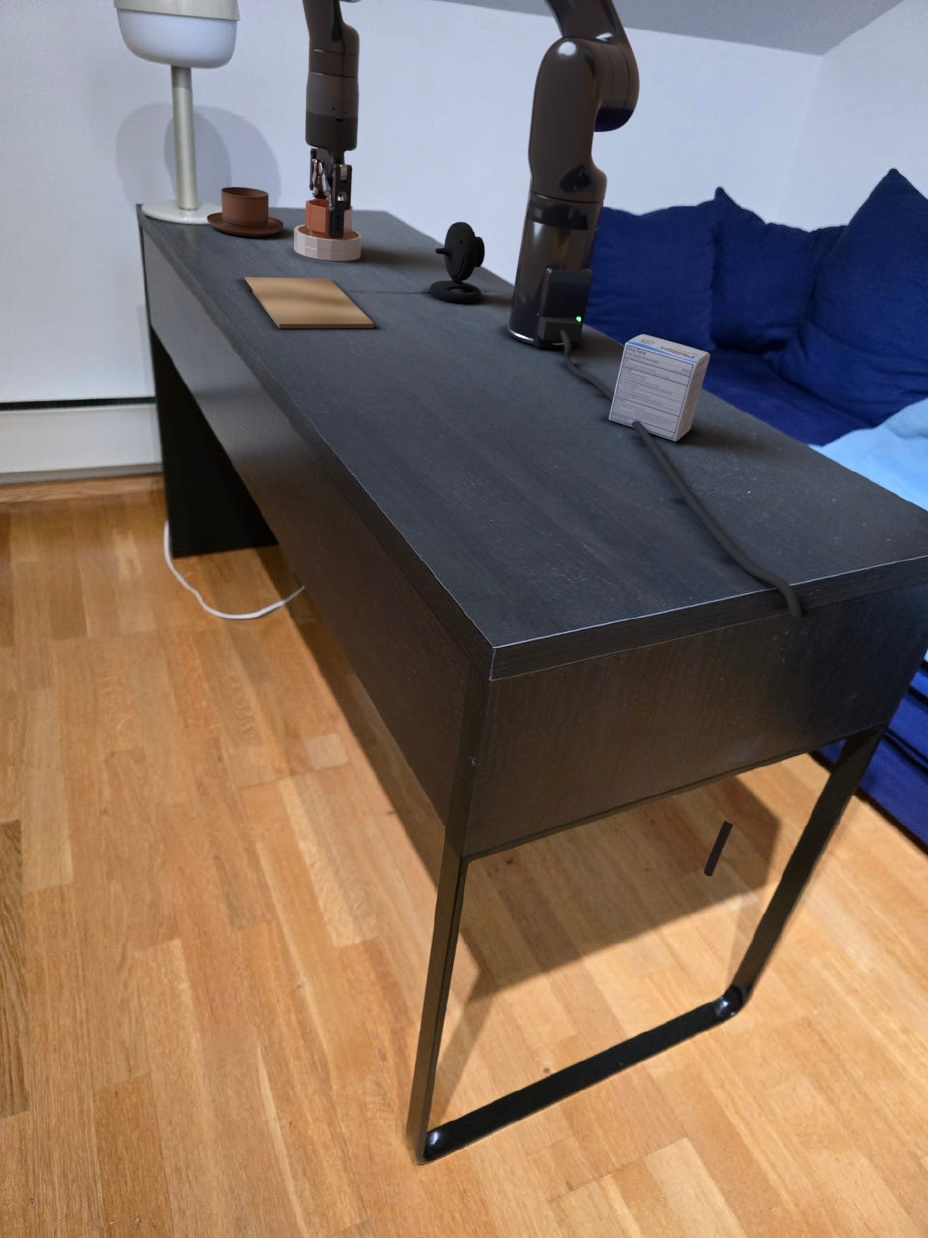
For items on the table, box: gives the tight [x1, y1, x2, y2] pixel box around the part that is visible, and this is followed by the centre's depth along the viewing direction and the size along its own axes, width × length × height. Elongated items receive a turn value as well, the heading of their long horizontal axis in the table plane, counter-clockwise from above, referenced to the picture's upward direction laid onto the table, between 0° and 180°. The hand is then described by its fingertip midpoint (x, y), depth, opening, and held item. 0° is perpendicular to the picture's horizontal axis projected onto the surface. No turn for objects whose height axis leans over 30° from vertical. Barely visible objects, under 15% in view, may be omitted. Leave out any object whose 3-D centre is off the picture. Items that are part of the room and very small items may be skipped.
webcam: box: [429, 221, 486, 304], centre depth 125 cm, size 8×8×10 cm
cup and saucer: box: [206, 186, 284, 238], centre depth 141 cm, size 12×12×6 cm
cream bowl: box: [293, 224, 363, 262], centre depth 137 cm, size 10×10×4 cm
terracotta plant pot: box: [304, 198, 354, 240], centre depth 135 cm, size 7×7×7 cm
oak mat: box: [244, 276, 375, 330], centre depth 115 cm, size 20×12×1 cm, turn 23°
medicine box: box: [608, 333, 711, 443], centre depth 92 cm, size 8×4×9 cm, turn 58°
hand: (328, 230), depth 136 cm, fingers open, 7 cm apart
